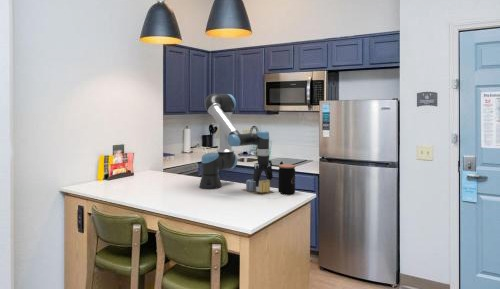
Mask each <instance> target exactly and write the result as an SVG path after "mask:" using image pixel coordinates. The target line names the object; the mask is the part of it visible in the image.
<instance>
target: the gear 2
mask: <svg viewBox="0 0 500 289" xmlns="http://www.w3.org/2000/svg"><path fill="white" fill-rule="evenodd" d="M259 182H260V192H261V193H262V192H269V191H271V180H270V181H266V179H265V180H259ZM256 192H257V191H256Z"/></svg>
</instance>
